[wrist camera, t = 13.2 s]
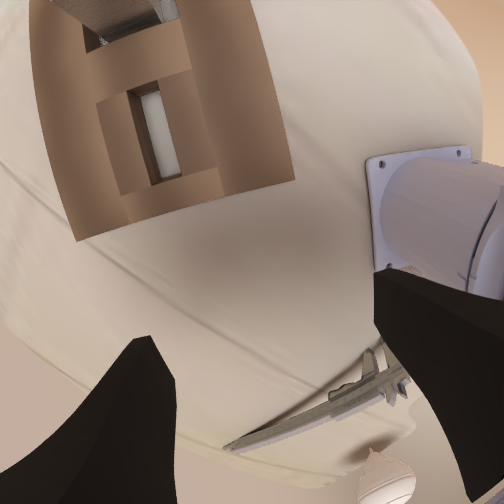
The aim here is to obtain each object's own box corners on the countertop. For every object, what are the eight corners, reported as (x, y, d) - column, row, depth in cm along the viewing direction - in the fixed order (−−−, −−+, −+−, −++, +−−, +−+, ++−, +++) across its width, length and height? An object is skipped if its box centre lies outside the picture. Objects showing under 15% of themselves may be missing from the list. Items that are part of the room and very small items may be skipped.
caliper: (382, 331, 22) (418, 381, 16) (388, 336, 23) (423, 386, 17) (221, 445, 26) (224, 494, 21) (229, 448, 27) (233, 496, 21)
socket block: (223, -53, 10) (224, -73, 8) (284, 173, 16) (295, 179, 14) (47, 11, 10) (29, 0, 8) (93, 227, 16) (76, 241, 14)
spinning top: (337, 465, 32) (359, 533, 20) (350, 440, 29) (380, 519, 18) (385, 452, 32) (411, 513, 21) (402, 425, 29) (437, 494, 18)
